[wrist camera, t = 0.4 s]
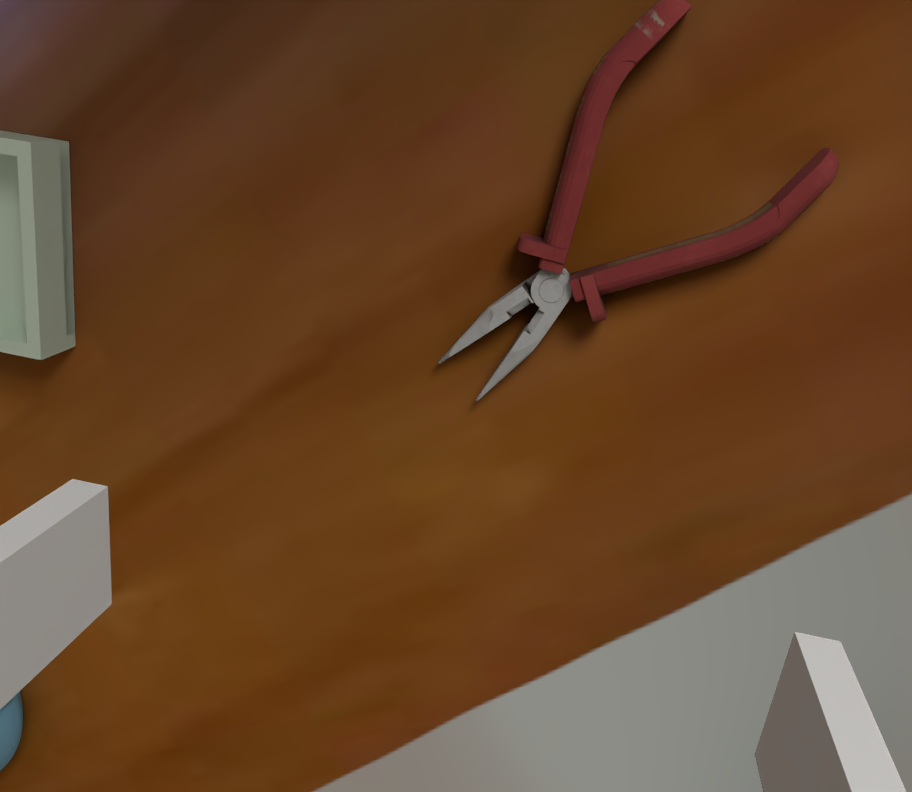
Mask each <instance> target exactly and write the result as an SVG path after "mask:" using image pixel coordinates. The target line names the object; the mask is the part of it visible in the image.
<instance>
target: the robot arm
mask: <svg viewBox="0 0 912 792" xmlns="http://www.w3.org/2000/svg"><path fill="white" fill-rule="evenodd" d="M111 604H112V594H111V565H110V536H109V507H108V486H104V485H99V484H94V483H89V482H85V481H80V480H75V479H72V480H70V481H69V482H67V483H66V484H64V485H62V486H61V487H59V488H58V489H56V490H55V491H53V492H52V493H50V494H49V495H47V496H46V497H44V498H42V499H41V500H39V501H38V502H36V503H35V504H33V505H32V506H30V507H29V508H27V509H26V510H24V511H22V512H21V513H19V514H18V515H16V516H15V517H13V518H12V519H10V520H9V521H7V522H6V523H4V524H2V525H1V526H0V709H1V708H2V707H3V706H5V705H6V704H7V703H8V702H9V701H10V700H11V699H12V698H13V697H14V696H15V695H16V694H17V693H18V692H19V691H20V690H21V689H22V688H23V687H25V686H26V685H27V684H28V683H29V682H30V681H31V680H32V679H33V678H34V677H35V676H36V675H37V674H38V673H39V672H40V671H41V670H42V669H44V668H45V667H46V666H47V665H48V664H49V663H50V662H51V661H52V660H53V659H54V658H55V657H56V656H57V655H58V654H59V653H60V652H61V651H63V650H64V649H65V648H66V647H67V646H68V645H69V644H70V643H71V642H72V641H73V640H74V639H75V638H76V637H77V636H78V635H79V634H80V633H81V632H83V631H84V630H85V629H86V628H87V627H88V626H89V625H90V624H91V623H92V622H93V621H94V620H95V619H96V618H97V617H98V616H99V615H100V614H102V613H103V612H104V611H105V610H106V609H107V608H108V607H109V606H110V605H111ZM755 757H756V761H757V766H758V770H759V775H760V779H761V784H762V788H763V792H906V790H905V788H904V786H903V783H902V781H901V779H900V777H899V774H898V772H897V770H896V767H895V765H894V763H893V760H892V758H891V756H890V754H889V751H888V749H887V747H886V744H885V743H884V740H883V738H882V735H881V733H880V731H879V728H878V726H877V724H876V722H875V719H874V717H873V715H872V712H871V710H870V708H869V706H868V703H867V701H866V699H865V697H864V694H863V692H862V690H861V687H860V685H859V683H858V681H857V678H856V676H855V674H854V672H853V669H852V667H851V665H850V662H849V660H848V658H847V656H846V653H845V651H844V649H843V646H842V644H841V642H840V641H836V640H831V639H826V638H821V637H817V636H812V635H807V634H802V633H798V632H795V633H794V636H793V639H792V642H791V645H790V648H789V651H788V654H787V657H786V660H785V663H784V666H783V669H782V672H781V675H780V679H779V682H778V685H777V688H776V691H775V694H774V697H773V700H772V703H771V706H770V709H769V712H768V716H767V718H766V721H765V725H764V728H763V731H762V734H761V737H760V740H759V743H758V746H757V749H756V752H755Z"/></svg>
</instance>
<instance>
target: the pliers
mask: <svg viewBox="0 0 912 792" xmlns="http://www.w3.org/2000/svg"><path fill="white" fill-rule="evenodd" d="M691 7H692V6H691V5H690V4H689V3H688V2H687V1H686V0H661V1H659V2H657V3H656V4H655V5H653V6H652V7H651V9H650V10H649V11H648V12H647V13H646V14H645V15H644V16H643V17H642V18H641V19H640V20H639V21H638V22H637V23H636V24H635V25H634V26H633V27H632V28H631V29H630V30H629V31H628V32H627V33H626V34H625V35H624V36H623V37H622V38H621V39H620V40H619V41H618V42H617V43H616V44H615V45H614V46H613V47H612V48H611V49H610V50H609V51H608V53H607V54H606V55H605V56H604V57H603V58H602V60H601V61H600V63H599V64H598V66H597V67H596V69H595V71H594V72H593V74H592V76H591V78H590V80H589V83H588V85H587V87H586V89H585V92H584V94H583V97H582V99H581V102H580V105H579V107H578V110H577V113H576V117H575V121H574V124H573V128H572V132H571V136H570V139H569V143H568V147H567V151H566V154H565V158H564V162H563V166H562V169H561V173H560V177H559V181H558V184H557V188H556V192H555V196H554V199H553V203H552V207H551V211H550V214H549V218H548V222H547V226H546V229H545V233H544V237H543V238H542V237H539V236H535V235H531V234H527V233H522V234H521V236H520V239H519V243H518V247H517V250H519V251H521V252H523V253H526V254H529V255H533V256H537V257H540V259H539V263H538V267H539V268H540V269H541V270H539V271H538V272H536V273H535V274H534V275H532V276H531V277H529V278H528V279H526V280H525V281H524V282H522V283H521V284H519V285H518V286H516V287H515V288H514V289H512V290H511V291H509V292H508V293H507V294H505V295H504V296H502V297H501V298H500V299H498V300H497V301H495V302H494V303H493V304H491V305H490V306H489V307H488V308H487V309H486V310H485V311H484V312H483V313H482V314H481V315H480V316H479V318H478V319H477V320H476V321H475V322H474V323H473V324H472V325H471V326H470V327H469V329H468V330H467V331H466V332H465V333H464V334H463V335H462V336H461V337H460V338H459V339H458V341H457V342H456V343H455V344H454V345H453V346H452V347H451V348H450V349H449V350H448V351H447V353H446V354H445V355H444V356H443V357H442V358H441V359H440V360H439V361H438V363H439V364H440V363H442V362H443V361H445V360H446V359H448V358H449V357H451V356H453V355H454V354H456V353H457V352H459V351H460V350H462V349H463V348H465V347H467V346H468V345H470V344H471V343H473V342H474V341H476V340H477V339H479V338H481V337H482V336H484V335H485V334H487V333H488V332H490V331H491V330H493V329H494V328H496V327H498V326H499V325H501V324H502V323H504V322H505V321H507V320H508V319H510V318H511V317H512V315H514V314H515V313H517V312H518V311H520V310H521V309H523V308H524V307H526V306H527V305H529V304H530V303H534V302H535V304H536V305H537V306H538V307H539V309H538V311H537V312H536V314H535V315H534V317H533V318H532V320H531V321H530V323H529V324H528V323H527V324H526V326H525V327H524V329H523V330H522V332H521V333H520V335H519V336H518V337H517V339H516V340H515V342H514V343H513V345H512V346H511V348H510V349H509V351H508V352H507V354H506V355H505V357H504V358H503V360H502V361H501V363H500V364H499V366H498V367H497V369H496V370H495V372H494V373H493V375H492V376H491V378H490V379H489V381H488V382H487V383H486V385H485V386H484V388H483V389H482V391H481V392H480V394H479V395H478V397H477V399H476V401H478V400H479V399H480V398H482V397H483V396H484V395H485V394H486V393H487V392H488V391H489V390H490V389H492V388H493V387H494V386H495V385H496V384H497V383H498V382H499V381H500V380H502V379H503V378H504V377H505V376H506V375H507V374H508V373H509V372H510V371H512V370H513V369H514V368H515V367H516V366H517V365H518V364H519V363H521V362H522V361H523V360H524V359H525V358H526V357H527V356H528V355H529V354H531V353H532V351H533V350H534V349H535V348H536V346H537V345H538V344H539V342H540V341H541V339H542V338H543V337H544V335H545V334H546V333H547V331H548V330H549V328H550V327H551V326H552V324H553V323H554V321H555V320H556V318H557V317H558V315H559V314H560V313H561V311H562V310H563V308H564V307H565V305H566V304H567V302H568V301H569V299H570V298H572V297H573V296H574V299H575V302H579V301H583V300H586V301H587V304H588V308H589V311H590V315H591V318H592V321H593V323H594V322H598V321H601V320H605V319H606V310H605V306H604V302H603V299H602V295H605V294H609V293H612V292H616V291H619V290H623V289H627V288H630V287H634V286H637V285H641V284H644V283H648V282H652V281H655V280H659V279H662V278H666V277H669V276H673V275H677V274H680V273H684V272H687V271H691V270H694V269H698V268H702V267H705V266H709V265H712V264H716V263H719V262H723V261H726V260H729V259H732V258H735V257H737V256H740V255H742V254H745V253H747V252H749V251H752V250H754V249H756V248H758V247H760V246H762V245H764V244H766V243H767V242H769V241H770V240H772V239H773V238H775V237H776V236H778V235H780V234H781V233H782V232H783V231H784V230H785V229H786V228H787V227H788V226H789V225H790V224H791V223H792V222H793V221H794V220H795V219H796V218H797V217H798V216H799V215H800V214H801V213H802V212H803V211H804V210H805V209H806V208H807V207H808V206H809V205H810V204H811V203H812V202H813V201H814V200H815V199H816V198H817V197H818V196H819V195H820V194H821V193H822V192H823V191H824V190H825V189H826V188H827V187H829V186H830V184H831V183H832V182H833V180H834V179H835V177H836V175H837V172H838V166H839V163H838V158H837V156H836V154H835V153H834V152H833V151H832V150H831V149H830V148H824V149H822V150H821V151H820V152H819V153H818V154H817V155H816V156H815V157H814V158H812V159H811V160H810V161H809V162H808V163H807V164H806V165H805V166H804V167H803V168H802V169H801V170H800V171H799V172H798V173H797V174H796V175H795V176H794V177H793V178H792V179H791V180H790V181H789V182H788V183H787V184H786V185H785V186H784V187H783V188H782V189H781V190H780V191H779V192H778V193H777V194H776V195H775V196H774V197H773V198H772V199H771V200H770V201H769V202H767V203H766V204H765V205H764V206H762V207H761V208H760V209H759V210H757V211H756V212H754V213H753V214H751V215H750V216H748V217H747V218H745V219H743V220H741V221H739V222H737V223H735V224H733V225H730V226H728V227H726V228H723V229H720V230H718V231H715V232H711V233H708V234H705V235H701V236H698V237H694V238H691V239H687V240H684V241H680V242H677V243H673V244H670V245H667V246H663V247H660V248H656V249H653V250H649V251H646V252H642V253H639V254H635V255H632V256H629V257H625V258H622V259H618V260H615V261H611V262H608V263H604V264H601V265H597V266H594V267H591V268H587V269H584V270H581V271H577V272H574V273H571V275H570V274H569V272H568V271H567V270H566V269H564V264H565V260H566V257H567V253H568V250H569V247H570V243H571V239H572V236H573V232H574V229H575V225H576V222H577V218H578V214H579V211H580V207H581V204H582V200H583V197H584V193H585V189H586V186H587V182H588V179H589V175H590V172H591V168H592V164H593V161H594V157H595V154H596V150H597V146H598V143H599V139H600V136H601V132H602V129H603V125H604V121H605V119H606V116H607V113H608V110H609V108H610V106H611V103H612V101H613V99H614V97H615V95H616V93H617V91H618V89H619V87H620V86H621V84H622V83H623V81H624V80H625V78H626V77H627V76H628V74H629V73H630V72H631V71H632V69H633V68H634V67H635V66H636V65H637V64H638V63H639V62H640V61H641V60H642V59H643V58H644V57H645V56H646V55H647V54H648V52H649V51H650V50H651V49H652V48H653V47H654V46H655V45H656V44H657V43H658V42H659V41H660V40H661V39H662V38H663V37H664V36H665V35H666V34H667V33H668V32H669V31H670V30H671V29H672V28H673V27H674V26H675V25H676V24H677V23H678V21H679V20H680V19H681V18H682V17H683V16H684V15H685V14H686V13H687V12H688V11H689V10H690V8H691Z"/></svg>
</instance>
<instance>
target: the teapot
mask: <svg viewBox="0 0 912 792" xmlns="http://www.w3.org/2000/svg"><path fill="white" fill-rule="evenodd" d="M22 727H23V705H22V697H21V691H19V692H18V693H17V694H16V695H15V696H14V697H13V698H12V699H11V700H10V701H9V702H8V703H7V704H6V705H5V706H3V707H2V708H1V709H0V771H1V770H2V769H3V768H4V767H5V766H6V765H7V764H8V762H9V761H10V760H11V759H12V757H13V755H14V753H15V752H16V750H17V747H18V745H19V742H20V739H21V735H22Z"/></svg>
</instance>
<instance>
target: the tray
mask: <svg viewBox="0 0 912 792" xmlns="http://www.w3.org/2000/svg"><path fill="white" fill-rule="evenodd" d="M75 346H76V344H75V312H74V281H73V250H72V218H71V187H70V156H69V141H63V140H57V139H50V138H44V137H38V136H32V135H26V134H20V133H14V132H7V131H1V130H0V352H3V353H8V354H13V355H18V356H23V357H28V358H33V359H38V360H43V359H45V358H48V357H50V356H53V355H55V354H58V353H60V352H63V351H65V350H68V349H70V348H73V347H75Z"/></svg>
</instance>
